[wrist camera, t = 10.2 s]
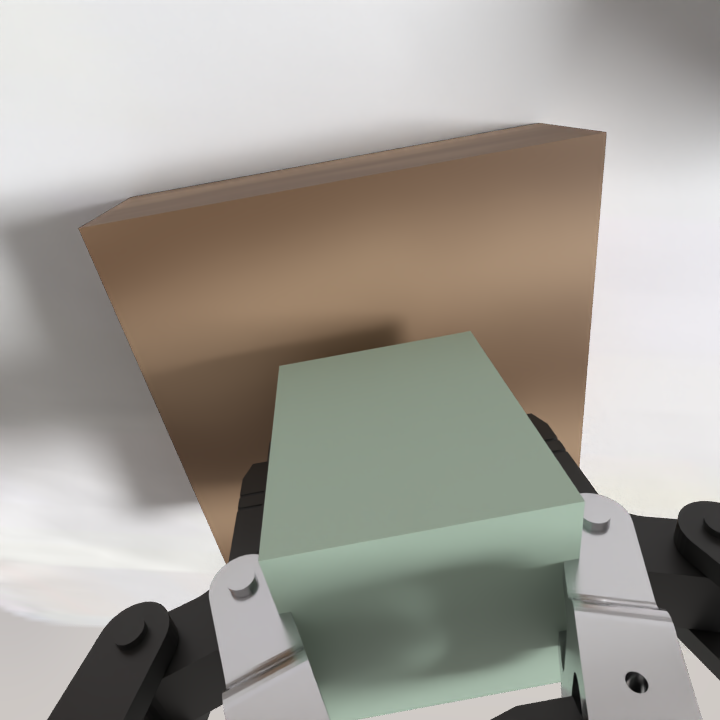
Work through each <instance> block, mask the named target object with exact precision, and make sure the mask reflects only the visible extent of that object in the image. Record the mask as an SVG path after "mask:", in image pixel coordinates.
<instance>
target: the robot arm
mask: <svg viewBox="0 0 720 720" xmlns="http://www.w3.org/2000/svg"><path fill="white" fill-rule="evenodd" d="M527 416H528V417H529V419H530V420H531V422H532V423H533V425H534V426H535V428H536V429H537V431H538V432H539V434H540V435H541V437H542V438H543V440H544V441H545V443H546V444H547V446H548V447H549V449H550V450H551V451H552V453H553V454H554V456H555V457H556V459H557V460H558V462H559V463H560V465H561V466H562V468H563V469H564V471H565V472H566V474H567V475H568V477H569V478H570V480H571V481H572V483H573V484H574V486H575V487H576V489H577V490H578V492H579V493H580V495H581V496H582V498H583V499H584V501H585V506H584V517H583V527H582V538H581V548H580V558H579V559H573V560H568V561H564V562H563V576H562V580H563V589H564V598H565V606H566V617H567V630H564V631H559V633H558V655H559V665H560V676H561V693H562V698H558V699H552V700H547V701H541V702H536V703H531V704H525V705H520V706H516V707H514V708H512V709H510V710H508V711H506V712H504V713H502V714H501V715H499V716H497V717H495V718H493V719H491V720H702V716H701V713H700V710H699V707H698V703H697V700H696V697H695V693H694V690H693V687H692V683H691V680H690V677H689V673H688V670H687V667H686V664H685V660H684V657H683V654H682V650H681V647H680V644H679V641H678V638H679V639H680V640H681V641H682V642H683V643H684V644H685V645H686V646H687V648H688V649H689V650H690V651H691V652H692V653H693V654H694V655H695V656H696V657H697V658H698V659H699V660H700V661H702V663H703V664H704V665H705V666H706V667H707V668H708V669H709V670H710V671H711V672H712V673H713V674H714V675H715V676H716V677H717V678H718V679H719V680H720V503H717V502H710V501H699V502H693V503H690V504H688V505H686V506H684V507H683V508H682V509H681V510H680V512H679V515H678V519H668V518H655V517H644V516H637V515H633V514H629V513H628V512H627V510H626V509H625V508H624V507H623V506H621V505H620V504H619V503H617V502H616V501H614V500H612V499H610V498H608V497H605V496H602V495H599V494H598V493H597V492H596V491H595V489H594V488H593V486H592V485H591V484H590V482H589V481H588V479H587V478H586V477H585V475H584V474H583V472H582V471H581V470H580V468H579V467H578V465H577V464H576V463H575V461H574V460H573V458H572V457H571V456H570V454H569V453H568V452H566V449H565V447H564V446H563V444H562V443H561V442H560V440H558V438H557V436H556V435H555V433H554V432H553V430H552V429H551V428H550V426H549V425H548V424H547V423H546V422H544V421H543V420H541V419H539V418H538V417H536V416H535V415H533V414H532V413H530V414H527ZM270 448H271V441H270V443H269V449H268V458H267V461H266V462H261V463H255V464H252V466H251V467H250V469H249V470H248V472H247V473H246V475H245V476H244V478H243V480H242V485H241V491H240V498H239V503H238V512H237V515H236V521H235V526H234V532H233V538H232V544H231V550H230V556H229V561H228V563H227V564H226V565H225V566H224V567H222V568H221V569H220V570H219V572H218V573H217V574H216V575H215V577H214V578H213V581H212V583H211V585H210V589H209V590H208V591H207V592H206V593H204V594H203V595H201V596H200V597H198V598H196V599H194V600H192V601H190V602H188V603H186V604H184V605H182V606H180V607H177V608H175V609H173V610H171V611H169V612H167V610H166V609H165V607H164V606H162V605H161V604H159V603H156V602H142V603H138V604H135V605H133V606H131V607H129V608H127V609H125V610H123V611H122V612H120V613H119V614H118V615H117V616H115V617H114V618H113V619H112V620H111V621H110V622H109V623H108V624H107V626H106V627H105V628H104V629H103V631H102V632H101V634H100V635H99V637H98V639H97V640H96V642H95V644H94V645H93V647H92V649H91V650H90V652H89V653H88V655H87V657H86V658H85V660H84V661H83V663H82V664H81V666H80V668H79V669H78V671H77V673H76V674H75V676H74V677H73V679H72V681H71V682H70V684H69V685H68V687H67V689H66V690H65V692H64V693H63V695H62V697H61V699H60V700H59V702H58V703H57V705H56V706H55V708H54V710H53V711H52V713H51V715H50V716H49V718H48V719H47V720H207V719H208V717H209V714H210V711H212V710H213V709H215V708H217V707H219V706H220V705H222V704H223V708H224V714H225V719H226V720H331V719H330V716H329V714H328V711H327V708H326V705H325V703H324V700H323V697H322V694H321V691H320V689H319V686H318V683H317V681H316V678H315V676H314V674H313V671H312V668H311V665H310V662H309V660H308V657H307V654H306V651H305V649H304V646H303V643H302V640H301V637H300V635H299V632H298V629H297V626H296V624H295V621H294V618H293V615H292V613H291V612H286V613H281V614H278V611H277V609H276V606H275V603H274V601H273V598H272V596H271V593H270V591H269V588H268V585H267V583H266V580H265V578H264V575H263V573H262V570H261V567H260V565H259V562H258V558H259V549H260V540H261V530H262V521H263V512H264V503H265V494H266V484H267V475H268V466H269V457H270Z"/></svg>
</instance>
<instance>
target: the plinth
mask: <svg viewBox="0 0 720 720" xmlns="http://www.w3.org/2000/svg"><path fill="white" fill-rule="evenodd" d="M606 133H607V132H602V131H595V130H587V129H580V128H572V127H565V126H558V125H550V124H543V123H536V124H531V125H525V126H520V127H514V128H509V129H503V130H498V131H492V132H487V133H481V134H476V135H470V136H465V137H459V138H454V139H448V140H443V141H437V142H432V143H426V144H421V145H415V146H410V147H404V148H399V149H393V150H388V151H382V152H377V153H371V154H366V155H360V156H355V157H349V158H344V159H338V160H333V161H327V162H322V163H316V164H311V165H305V166H300V167H294V168H289V169H283V170H278V171H272V172H267V173H261V174H256V175H250V176H245V177H239V178H234V179H228V180H223V181H217V182H212V183H207V184H201V185H196V186H190V187H185V188H179V189H174V190H168V191H163V192H157V193H152V194H146V195H141V196H135V197H131V198H129V199H127V200H125V201H124V202H122V203H120V204H119V205H117V206H115V207H114V208H112V209H110V210H109V211H107V212H105V213H103V214H102V215H100V216H98V217H97V218H95V219H93V220H92V221H90V222H88V223H87V224H85V225H83V226H81V227H80V228H78V229H79V231H80V233H81V235H82V238H83V240H84V242H85V245H86V247H87V249H88V251H89V254H90V256H91V258H92V260H93V263H94V265H95V267H96V270H97V272H98V274H99V276H100V279H101V281H102V283H103V285H104V288H105V290H106V292H107V295H108V297H109V299H110V301H111V304H112V306H113V308H114V310H115V313H116V315H117V317H118V320H119V322H120V324H121V326H122V329H123V331H124V333H125V335H126V338H127V340H128V342H129V345H130V347H131V349H132V351H133V354H134V356H135V358H136V360H137V363H138V365H139V367H140V370H141V372H142V374H143V376H144V379H145V381H146V383H147V386H148V388H149V390H150V392H151V395H152V397H153V399H154V401H155V404H156V406H157V408H158V411H159V413H160V415H161V417H162V420H163V422H164V424H165V426H166V429H167V431H168V433H169V436H170V438H171V440H172V442H173V445H174V447H175V449H176V451H177V454H178V456H179V458H180V461H181V463H182V465H183V467H184V470H185V472H186V474H187V476H188V479H189V481H190V483H191V486H192V488H193V490H194V492H195V495H196V497H197V499H198V501H199V504H200V506H201V508H202V511H203V513H204V515H205V517H206V520H207V522H208V524H209V526H210V529H211V531H212V533H213V536H214V538H215V540H216V542H217V545H218V547H219V549H220V551H221V554H222V556H223V558H224V561H225V563H226V564H227V563H228V561H229V556H230V550H231V544H232V538H233V532H234V526H235V521H236V515H237V512H238V503H239V498H240V491H241V485H242V480H243V478H244V476H245V475H246V473H247V472H248V470H249V469H250V467H251V466H252V464H255V463H261V462H266V461H267V458H268V449H269V443H270V441H271V438H272V429H273V420H274V411H275V402H276V392H277V383H278V374H279V366H282V365H287V364H293V363H298V362H304V361H309V360H314V359H320V358H325V357H331V356H336V355H342V354H347V353H353V352H358V351H364V350H369V349H375V348H380V347H386V346H391V345H397V344H402V343H408V342H413V341H419V340H424V339H430V338H435V337H441V336H446V335H451V334H457V333H462V332H468V331H471V333H472V334H473V335H474V337H475V338H476V340H477V341H478V343H479V344H480V346H481V347H482V349H483V350H484V352H485V353H486V355H487V356H488V358H489V359H490V361H491V362H492V364H493V365H494V367H495V368H496V370H497V371H498V373H499V374H500V376H501V377H502V379H503V380H504V382H505V383H506V385H507V386H508V388H509V389H510V391H511V392H512V393H513V395H514V396H515V398H516V399H517V401H518V402H519V404H520V405H521V407H522V408H523V410H524V411H525V413H526V414H530V413H532V414H533V415H535V416H536V417H538V418H539V419H541V420H543V421H544V422H546V423H547V424H548V425H549V426H550V428H551V429H552V430H553V432H554V433H555V435H556V436H557V438H558V440H560V442H561V443H562V444H563V446H564V447H565V449H566V452H568V453H569V454H570V456H571V457H572V458H573V460H574V461H575V463H576V464H577V465H578V467H579V464H580V451H581V439H582V427H583V415H584V402H585V390H586V378H587V366H588V354H589V341H590V329H591V317H592V305H593V292H594V280H595V268H596V256H597V243H598V231H599V219H600V207H601V195H602V182H603V170H604V158H605V146H606Z"/></svg>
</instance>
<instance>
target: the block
mask: <svg viewBox="0 0 720 720" xmlns="http://www.w3.org/2000/svg"><path fill="white" fill-rule="evenodd" d="M584 506H585V501H584V499H583V498H582V496H581V495H580V493H579V492H578V490H577V489H576V487H575V486H574V484H573V483H572V481H571V480H570V478H569V477H568V475H567V474H566V472H565V471H564V469H563V468H562V466H561V465H560V463H559V462H558V460H557V459H556V457H555V456H554V454H553V453H552V451H551V450H550V449H549V447H548V446H547V444H546V443H545V441H544V440H543V438H542V437H541V435H540V434H539V432H538V431H537V429H536V428H535V426H534V425H533V423H532V422H531V420H530V419H529V417H528V416H527V414H526V413H525V411H524V410H523V408H522V407H521V405H520V404H519V402H518V401H517V399H516V398H515V396H514V395H513V393H512V392H511V391H510V389H509V388H508V386H507V385H506V383H505V382H504V380H503V379H502V377H501V376H500V374H499V373H498V371H497V370H496V368H495V367H494V365H493V364H492V362H491V361H490V359H489V358H488V356H487V355H486V353H485V352H484V350H483V349H482V347H481V346H480V344H479V343H478V341H477V340H476V338H475V337H474V335H473V334H472V333H471V331H468V332H462V333H457V334H451V335H446V336H441V337H435V338H430V339H424V340H419V341H413V342H408V343H402V344H397V345H391V346H386V347H380V348H375V349H369V350H364V351H358V352H353V353H347V354H342V355H336V356H331V357H325V358H320V359H314V360H309V361H304V362H298V363H293V364H287V365H282V366H279V374H278V383H277V392H276V402H275V411H274V420H273V429H272V438H271V448H270V457H269V466H268V475H267V484H266V494H265V503H264V512H263V521H262V530H261V540H260V549H259V558H258V562H259V565H260V567H261V570H262V573H263V575H264V578H265V580H266V583H267V585H268V588H269V591H270V593H271V596H272V598H273V601H274V603H275V606H276V609H277V611H278V614H281V613H286V612H291V613H292V615H293V618H294V621H295V624H296V626H297V629H298V632H299V635H300V637H301V640H302V643H303V646H304V649H305V651H306V654H307V657H308V660H309V662H310V665H311V668H312V671H313V674H314V676H315V678H316V681H317V683H318V686H319V689H320V691H321V694H322V697H323V700H324V703H325V705H326V708H327V711H328V714H329V716H330V719H331V720H358V719H363V718H369V717H374V716H380V715H385V714H390V713H396V712H401V711H406V710H412V709H417V708H423V707H428V706H434V705H439V704H444V703H450V702H455V701H460V700H466V699H472V698H477V697H482V696H488V695H493V694H498V693H503V692H509V691H515V690H520V689H526V688H531V687H536V686H542V685H547V684H553V683H558V682H561V676H560V665H559V655H558V633H559V631H564V630H567V617H566V606H565V598H564V589H563V580H562V576H563V562H564V561H568V560H573V559H579V558H580V548H581V538H582V527H583V517H584Z"/></svg>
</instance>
